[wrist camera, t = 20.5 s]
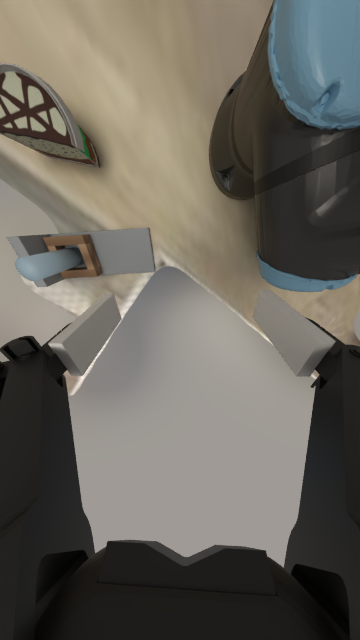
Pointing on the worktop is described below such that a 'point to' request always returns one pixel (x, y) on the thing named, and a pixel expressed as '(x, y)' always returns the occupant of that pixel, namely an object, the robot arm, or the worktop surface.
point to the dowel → (48, 263)
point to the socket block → (86, 251)
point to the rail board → (98, 251)
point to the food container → (40, 118)
